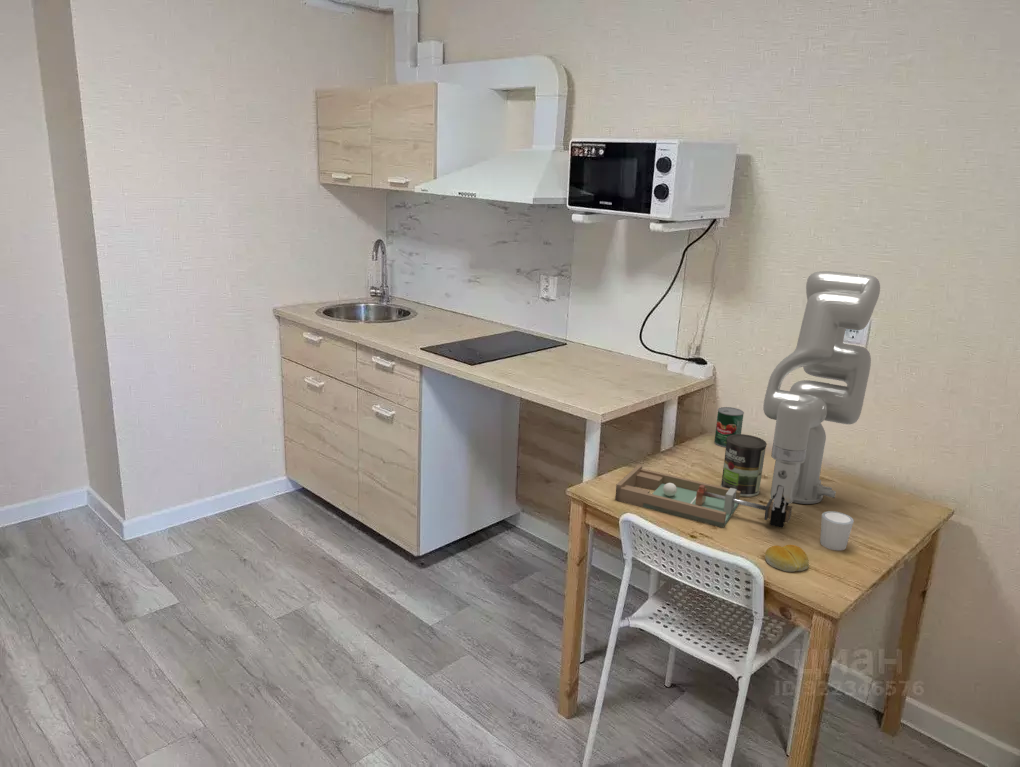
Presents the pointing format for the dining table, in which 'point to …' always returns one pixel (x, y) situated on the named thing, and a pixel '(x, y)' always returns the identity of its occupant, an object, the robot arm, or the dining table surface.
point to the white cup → (835, 530)
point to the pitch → (676, 496)
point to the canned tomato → (728, 424)
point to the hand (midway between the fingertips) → (778, 522)
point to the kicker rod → (768, 508)
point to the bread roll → (787, 558)
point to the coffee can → (743, 464)
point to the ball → (669, 489)
